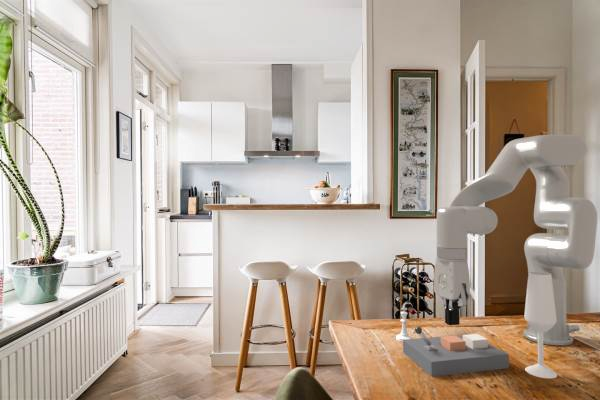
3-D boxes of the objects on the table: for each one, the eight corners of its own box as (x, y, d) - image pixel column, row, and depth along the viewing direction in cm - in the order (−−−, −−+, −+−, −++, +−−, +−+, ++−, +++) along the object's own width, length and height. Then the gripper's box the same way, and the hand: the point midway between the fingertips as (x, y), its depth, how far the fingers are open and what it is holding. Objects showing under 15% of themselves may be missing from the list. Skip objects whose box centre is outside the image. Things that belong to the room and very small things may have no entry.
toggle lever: (431, 342, 102) (417, 324, 101) (434, 344, 100) (420, 326, 99) (426, 346, 101) (412, 328, 101) (429, 349, 100) (415, 331, 99)
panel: (471, 346, 111) (471, 332, 111) (508, 368, 96) (508, 352, 96) (403, 352, 107) (403, 338, 107) (431, 376, 92) (431, 360, 92)
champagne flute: (524, 364, 99) (523, 270, 99) (556, 369, 95) (555, 272, 95) (524, 374, 93) (523, 274, 93) (558, 380, 90) (557, 277, 90)
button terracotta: (455, 344, 104) (455, 335, 104) (465, 351, 100) (465, 341, 100) (440, 346, 104) (440, 336, 104) (450, 352, 99) (450, 342, 99)
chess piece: (413, 342, 115) (413, 308, 115) (396, 341, 116) (395, 308, 116) (412, 336, 119) (411, 304, 119) (395, 335, 120) (395, 303, 120)
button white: (477, 342, 106) (477, 333, 106) (488, 348, 101) (487, 339, 101) (462, 344, 105) (462, 334, 105) (473, 350, 100) (472, 340, 100)
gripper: (424, 251, 108) (424, 316, 108) (455, 258, 94) (456, 334, 94) (448, 250, 110) (449, 315, 110) (483, 257, 95) (483, 332, 95)
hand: (452, 323), depth 102 cm, fingers closed
